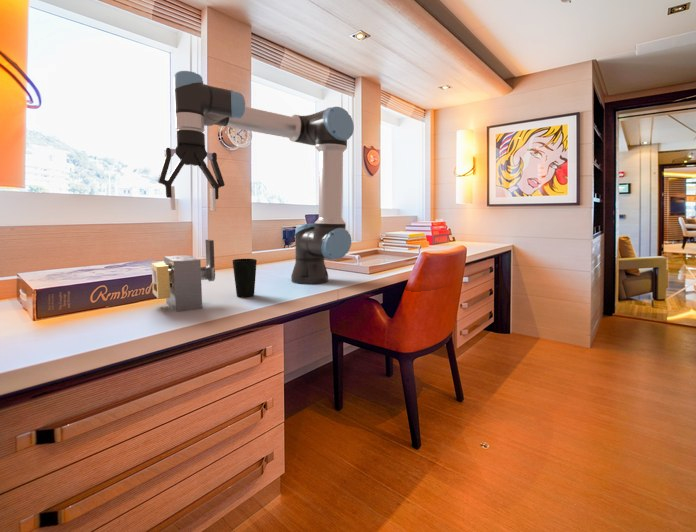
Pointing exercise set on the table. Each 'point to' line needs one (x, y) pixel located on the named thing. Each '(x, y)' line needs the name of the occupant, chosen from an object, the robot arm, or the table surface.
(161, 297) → the block
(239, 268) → the cup
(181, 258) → the block
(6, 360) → the table surface
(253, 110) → the robot arm
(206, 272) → the shaft
